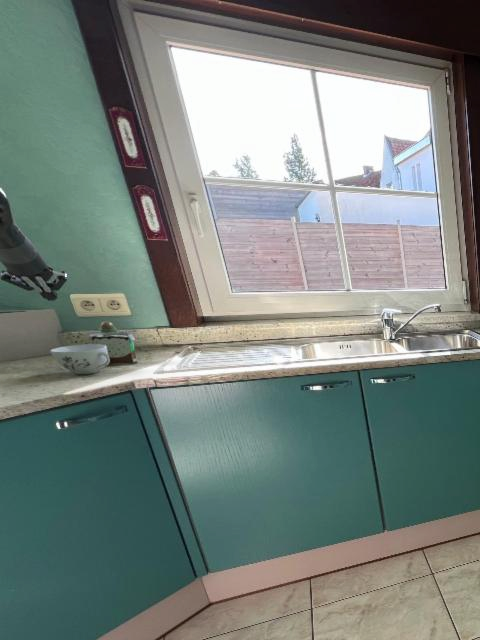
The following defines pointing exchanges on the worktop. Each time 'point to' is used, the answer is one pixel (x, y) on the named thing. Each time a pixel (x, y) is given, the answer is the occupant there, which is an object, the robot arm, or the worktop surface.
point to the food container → (117, 346)
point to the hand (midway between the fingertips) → (52, 298)
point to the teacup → (82, 358)
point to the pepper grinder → (107, 327)
